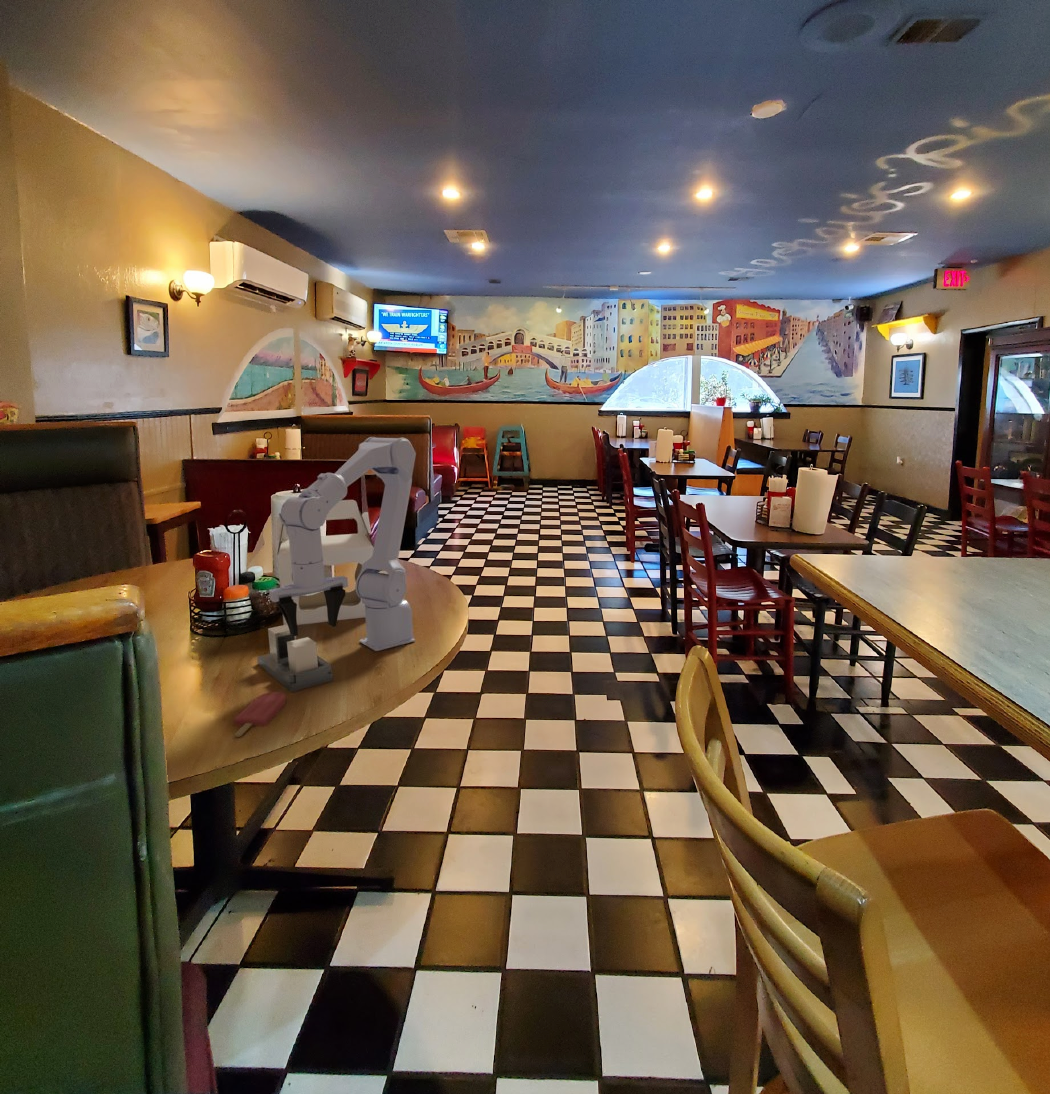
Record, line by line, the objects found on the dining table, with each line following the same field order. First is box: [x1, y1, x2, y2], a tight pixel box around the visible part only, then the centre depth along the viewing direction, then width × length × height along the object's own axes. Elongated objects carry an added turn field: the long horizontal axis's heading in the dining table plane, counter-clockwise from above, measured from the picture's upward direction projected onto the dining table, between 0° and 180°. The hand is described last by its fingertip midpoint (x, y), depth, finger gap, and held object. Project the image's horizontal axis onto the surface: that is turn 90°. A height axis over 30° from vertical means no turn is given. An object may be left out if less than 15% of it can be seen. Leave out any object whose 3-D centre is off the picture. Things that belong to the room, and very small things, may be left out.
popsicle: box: [233, 691, 287, 738], centre depth 115 cm, size 5×2×15 cm
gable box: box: [274, 499, 374, 626], centre depth 167 cm, size 22×13×28 cm, turn 109°
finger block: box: [287, 636, 318, 674], centre depth 128 cm, size 4×4×6 cm
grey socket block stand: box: [256, 624, 334, 693], centre depth 132 cm, size 8×18×8 cm, turn 39°
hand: (313, 629), depth 131 cm, fingers open, 7 cm apart
